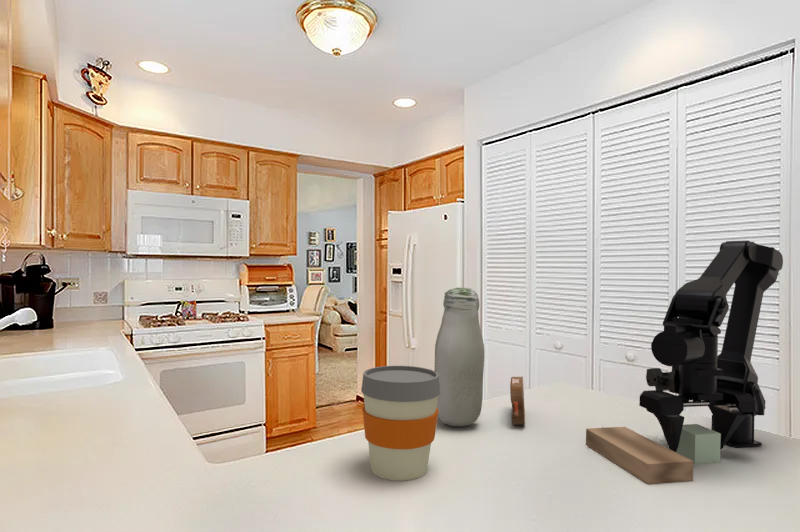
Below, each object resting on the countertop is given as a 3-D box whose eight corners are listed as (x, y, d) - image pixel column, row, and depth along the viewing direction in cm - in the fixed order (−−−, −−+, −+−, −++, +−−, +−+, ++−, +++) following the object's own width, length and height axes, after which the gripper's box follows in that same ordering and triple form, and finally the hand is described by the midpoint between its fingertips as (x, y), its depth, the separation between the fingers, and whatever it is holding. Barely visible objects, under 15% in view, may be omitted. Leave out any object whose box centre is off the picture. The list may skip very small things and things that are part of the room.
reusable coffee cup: (425, 492, 67) (427, 386, 67) (345, 477, 72) (347, 377, 72) (447, 459, 79) (449, 369, 79) (378, 448, 83) (380, 362, 84)
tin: (525, 431, 94) (525, 388, 94) (508, 429, 95) (509, 387, 95) (524, 409, 109) (525, 373, 109) (510, 408, 110) (511, 372, 110)
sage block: (696, 451, 86) (696, 423, 86) (720, 463, 81) (720, 433, 81) (672, 453, 85) (672, 425, 85) (694, 464, 80) (695, 434, 80)
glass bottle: (442, 434, 91) (446, 288, 91) (427, 417, 101) (430, 286, 101) (490, 431, 93) (493, 289, 93) (470, 415, 103) (473, 286, 103)
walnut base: (624, 442, 89) (624, 426, 89) (692, 480, 73) (693, 461, 73) (585, 444, 87) (586, 428, 87) (647, 484, 72) (647, 464, 72)
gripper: (705, 351, 92) (703, 432, 92) (619, 353, 89) (618, 436, 89) (758, 363, 82) (756, 454, 81) (664, 365, 78) (662, 460, 78)
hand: (695, 450), depth 83 cm, fingers open, 9 cm apart
